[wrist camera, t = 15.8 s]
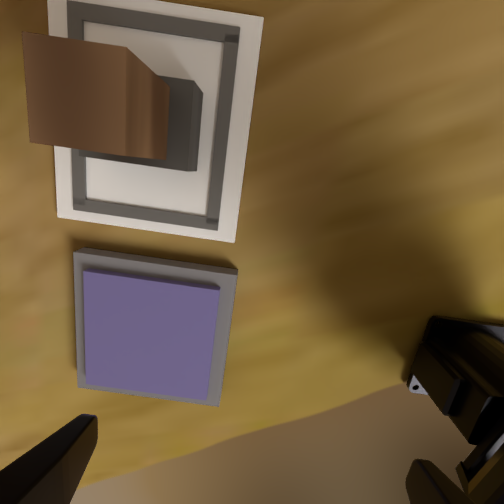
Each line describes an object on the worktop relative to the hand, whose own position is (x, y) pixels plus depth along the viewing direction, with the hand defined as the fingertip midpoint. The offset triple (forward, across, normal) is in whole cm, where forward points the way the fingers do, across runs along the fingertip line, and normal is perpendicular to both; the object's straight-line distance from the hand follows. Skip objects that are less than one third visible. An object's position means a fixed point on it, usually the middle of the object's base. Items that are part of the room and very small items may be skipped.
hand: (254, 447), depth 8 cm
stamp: (+13, +8, -9) cm, 17 cm away
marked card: (+13, +8, -9) cm, 18 cm away
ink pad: (+13, +7, +5) cm, 16 cm away
